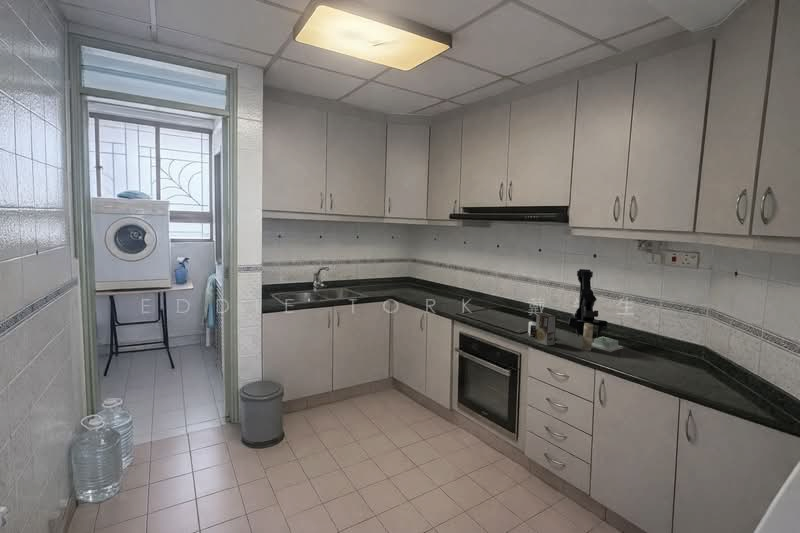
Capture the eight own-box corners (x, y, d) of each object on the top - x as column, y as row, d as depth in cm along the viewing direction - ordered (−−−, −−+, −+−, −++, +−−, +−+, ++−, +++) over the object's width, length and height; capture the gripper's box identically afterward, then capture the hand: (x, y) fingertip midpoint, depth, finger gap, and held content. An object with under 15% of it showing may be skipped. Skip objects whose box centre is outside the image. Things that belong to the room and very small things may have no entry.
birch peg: (580, 349, 213) (582, 323, 211) (585, 347, 216) (587, 322, 214) (588, 351, 210) (590, 325, 208) (592, 350, 212) (595, 324, 210)
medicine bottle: (529, 336, 233) (531, 316, 231) (527, 333, 240) (529, 313, 238) (542, 337, 232) (544, 317, 230) (540, 333, 239) (541, 314, 237)
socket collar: (589, 345, 220) (589, 338, 219) (601, 342, 226) (601, 335, 226) (610, 351, 210) (611, 344, 209) (622, 348, 216) (623, 341, 216)
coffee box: (555, 344, 219) (557, 316, 217) (546, 345, 217) (548, 317, 215) (542, 339, 228) (545, 312, 226) (534, 340, 225) (536, 313, 223)
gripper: (570, 302, 217) (570, 327, 208) (608, 306, 211) (610, 331, 202) (568, 313, 225) (568, 337, 216) (605, 317, 219) (606, 342, 210)
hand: (587, 337), depth 211 cm, fingers open, 9 cm apart
